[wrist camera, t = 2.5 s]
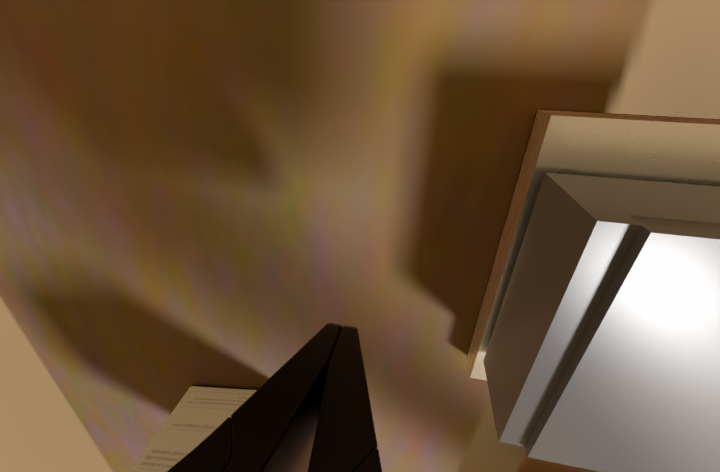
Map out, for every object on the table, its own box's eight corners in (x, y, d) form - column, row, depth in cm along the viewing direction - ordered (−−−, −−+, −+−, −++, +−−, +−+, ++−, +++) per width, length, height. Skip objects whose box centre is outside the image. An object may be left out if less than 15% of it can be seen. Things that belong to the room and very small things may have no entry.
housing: (698, 396, 12) (791, 510, 9) (483, 361, 13) (500, 451, 10) (874, 199, 8) (1148, 283, 5) (545, 172, 9) (604, 227, 6)
